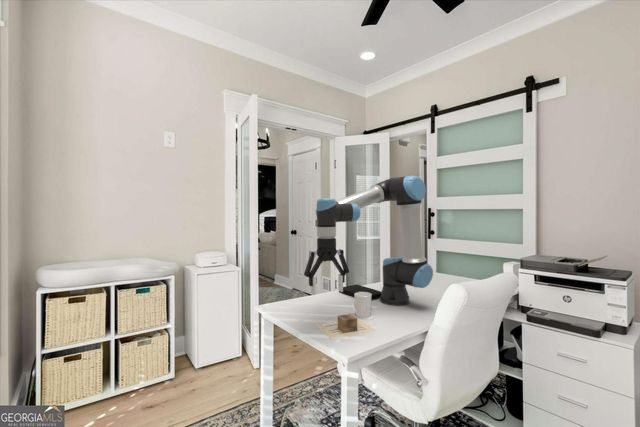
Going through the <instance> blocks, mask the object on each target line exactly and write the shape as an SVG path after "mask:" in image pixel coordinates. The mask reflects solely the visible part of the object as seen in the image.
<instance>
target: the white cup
mask: <svg viewBox="0 0 640 427" xmlns="http://www.w3.org/2000/svg"><path fill="white" fill-rule="evenodd" d="M354 297H355V298H354V309H355V317H356V318H359V319H367V318H371V314H372V300H371V299H372V294H371V293H368V292H357V293H355V294H354Z"/></svg>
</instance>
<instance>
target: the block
mask: <svg viewBox="0 0 640 427" xmlns="http://www.w3.org/2000/svg"><path fill="white" fill-rule="evenodd" d="M357 318H358V317H357V316H354V315H353V314H351V313H347V314H346V313H345V314H340V315H337V322H338V329H340V330H341V331H342V332H343V333H348V332H353V331H357Z"/></svg>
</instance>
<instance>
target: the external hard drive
mask: <svg viewBox="0 0 640 427" xmlns="http://www.w3.org/2000/svg"><path fill="white" fill-rule="evenodd" d="M381 291H382V290H381ZM381 291H380V290H377V289H373V288H370V287H367V286H364V285H360V284H352V285H347V286H343V292H341V291H339V290H338V293H339V294H341V295H345V296H348V297H350V298H351V297H352V298H353V299H355V297H354V294H355V293H357V292H368V293H371V294H372V299H371V301H374V300H378V299H379V300H380V295H381Z"/></svg>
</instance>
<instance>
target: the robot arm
mask: <svg viewBox="0 0 640 427" xmlns="http://www.w3.org/2000/svg"><path fill="white" fill-rule="evenodd" d="M426 188H427V187H426V184H425V183H424V180H423V179H422V178H421V177H419V176H418V175H406V176H398V177H390V178H387V179H385V180H383V181H379V182H378V183H375V184H373V185H371V186H370V188H368V189H363V190H362V191H359V192H356V193H353V194H351V195H350V194H349V195H348V196H345V197H342V198H340V199H337V200H336V199H335V198H318V199H317V200H316V209H315V215H316V236H317V237H318V238H317V239H316V251H312V250H310V251H309V257H308V260H307V263H306V266H305V270H304V272H303V276H305V278H308V286H310V294H311V295H313V296H315V295H316V278H315V277H314V276H315V274H316V273H317V271H318V270H319V268H320V266H321V265H322V263H323V262H332V263H333V265H334V266H335V268H336V270H337V271H338V273H339V274H338V277H337V278H338V280H337V283H338V285H337V287H338V288H337V289H338V292H339V291H341V292H343V287H344V283H345V280H346V279H345V276H346V275H347V274H349V273H350V270H349V268H348V264H347V262H346V258H345V256H344V254H345V253H344V249H341V248H339V249H337V238H336V236H337V223H342V222H343V223H344V222H346V223H347V222H349V223H351V222H356V221H358V220H359V218H360V217H361V209H363V208H365V207H368V206H370V205H374V204H382V203H384V202H396V204H395V205H396V207H398V209H400V211H399V212H400V221H401V222H400V223H401V229H402V230H401V232H402V240H403V241H402V244H403V250H404V251H403V252H404V253H403V254H404V256H394V257H386V258H384V259H383V261H382V289H381V295H380V299H379V302H381V303H383V304H385V305H389V306H391V305H392V306H405V305H408V304H409V303H410V296H409V293H408V289H407V286H409V287H410V286H411V287H413V288H420V289H425V288H427V287H428V286H429V285H430V283H431V281H432V279H433V276H434V270H433V267H432V266H431V265H430V264H429V263H427V257H425V256H424V255H423V254H424V252H423V244H422V243H423V242H422V230H421V219H420V209H419V207H420V206H421V204H422V200H423V199H424V198H425V197H426V194H427V189H426ZM316 255H317V259H316V261H315V263H314V260H315V258H316ZM336 255H338V257H339V258H338V259H339V261H338V260H337V258H336ZM339 262H340V263H339ZM313 264H314V265H313ZM340 264H341V265H340Z"/></svg>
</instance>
